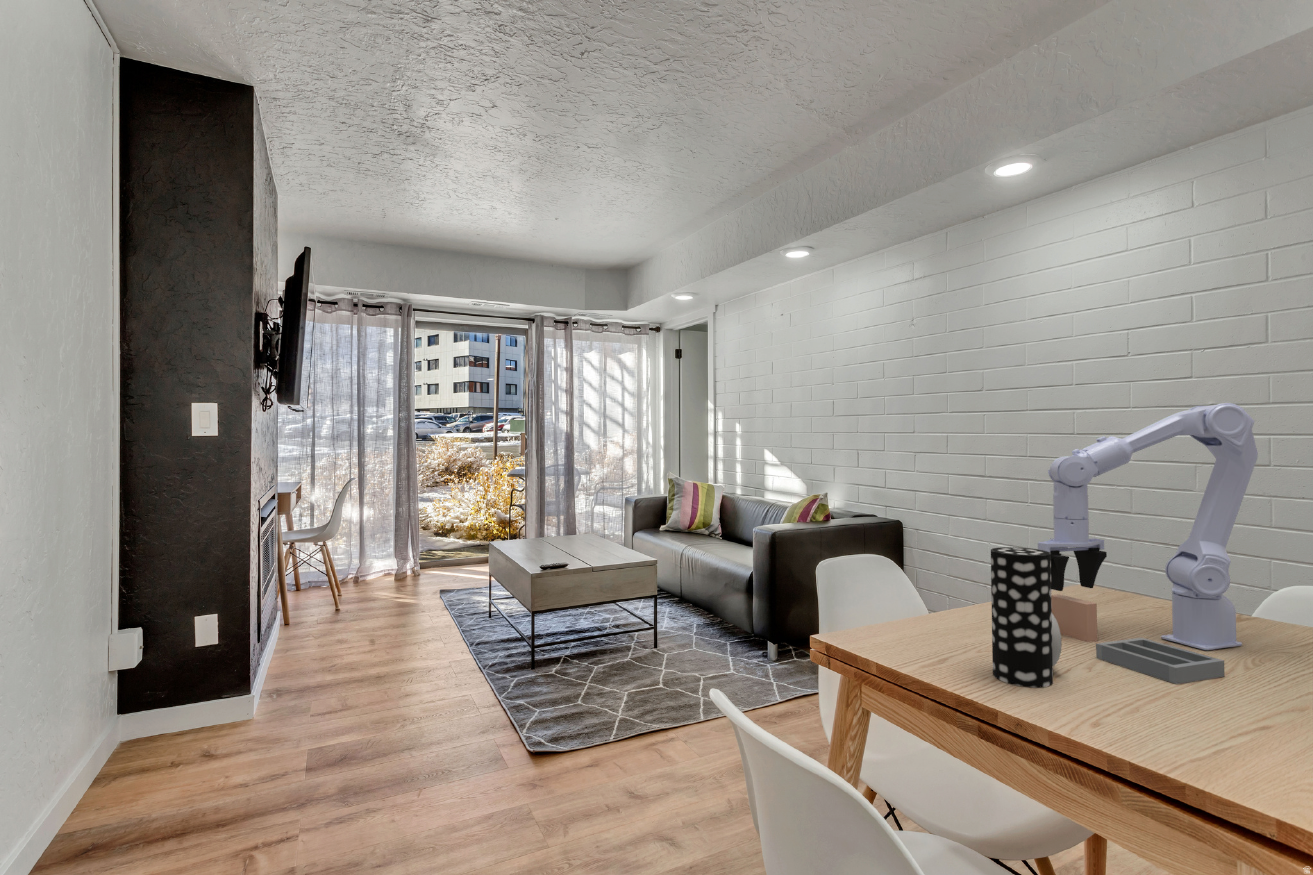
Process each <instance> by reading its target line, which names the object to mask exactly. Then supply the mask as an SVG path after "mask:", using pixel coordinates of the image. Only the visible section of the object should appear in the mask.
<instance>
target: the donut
mask: <svg viewBox="0 0 1313 875" xmlns="http://www.w3.org/2000/svg"><path fill="white" fill-rule="evenodd" d="M1062 646H1063V645H1062V634H1060V629H1059V626H1058V623H1057V620H1056V618H1055V617H1054V615H1053V614H1052V657H1053V667H1054V666H1055V665H1056V664H1057V663H1058V661H1059V660H1060V656H1061V653H1062Z"/></svg>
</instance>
